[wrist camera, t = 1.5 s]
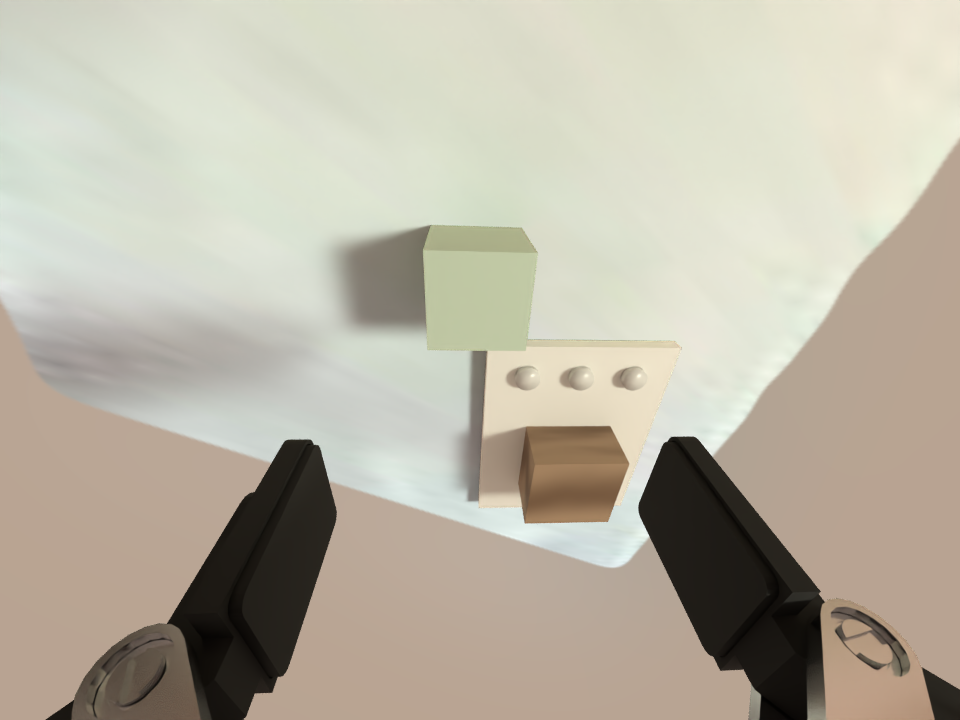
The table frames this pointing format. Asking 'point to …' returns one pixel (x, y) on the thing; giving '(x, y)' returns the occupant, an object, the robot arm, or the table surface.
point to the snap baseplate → (568, 401)
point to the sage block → (478, 287)
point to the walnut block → (570, 473)
